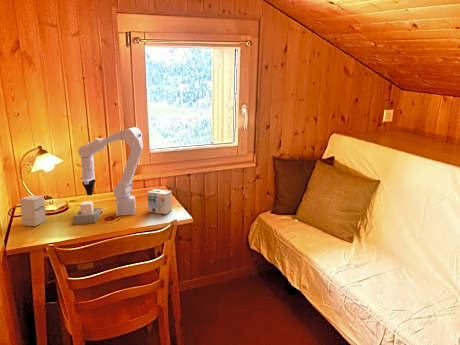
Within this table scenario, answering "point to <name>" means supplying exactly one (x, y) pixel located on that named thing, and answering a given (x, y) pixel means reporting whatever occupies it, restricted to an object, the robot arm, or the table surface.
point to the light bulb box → (159, 201)
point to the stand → (99, 209)
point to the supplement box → (33, 210)
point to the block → (87, 207)
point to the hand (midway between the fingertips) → (90, 194)
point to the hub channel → (86, 218)
